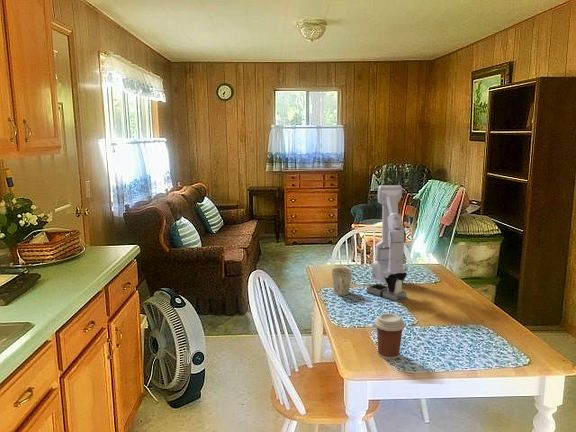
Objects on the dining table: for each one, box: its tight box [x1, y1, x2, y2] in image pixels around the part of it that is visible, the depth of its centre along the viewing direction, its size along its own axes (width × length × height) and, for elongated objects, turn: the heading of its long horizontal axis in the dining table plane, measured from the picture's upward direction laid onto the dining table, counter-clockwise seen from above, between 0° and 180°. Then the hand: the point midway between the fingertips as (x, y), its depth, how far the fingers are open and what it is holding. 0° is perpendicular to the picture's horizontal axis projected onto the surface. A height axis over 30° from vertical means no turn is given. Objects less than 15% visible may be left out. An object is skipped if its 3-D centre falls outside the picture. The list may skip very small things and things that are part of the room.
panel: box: [365, 283, 408, 303], centre depth 200 cm, size 15×9×3 cm, turn 43°
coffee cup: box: [374, 312, 406, 360], centre depth 148 cm, size 9×9×12 cm
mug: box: [331, 267, 353, 296], centre depth 200 cm, size 8×13×10 cm, turn 174°
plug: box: [388, 279, 403, 295], centre depth 197 cm, size 4×4×8 cm
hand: (394, 290), depth 197 cm, fingers closed on plug, 4 cm apart
